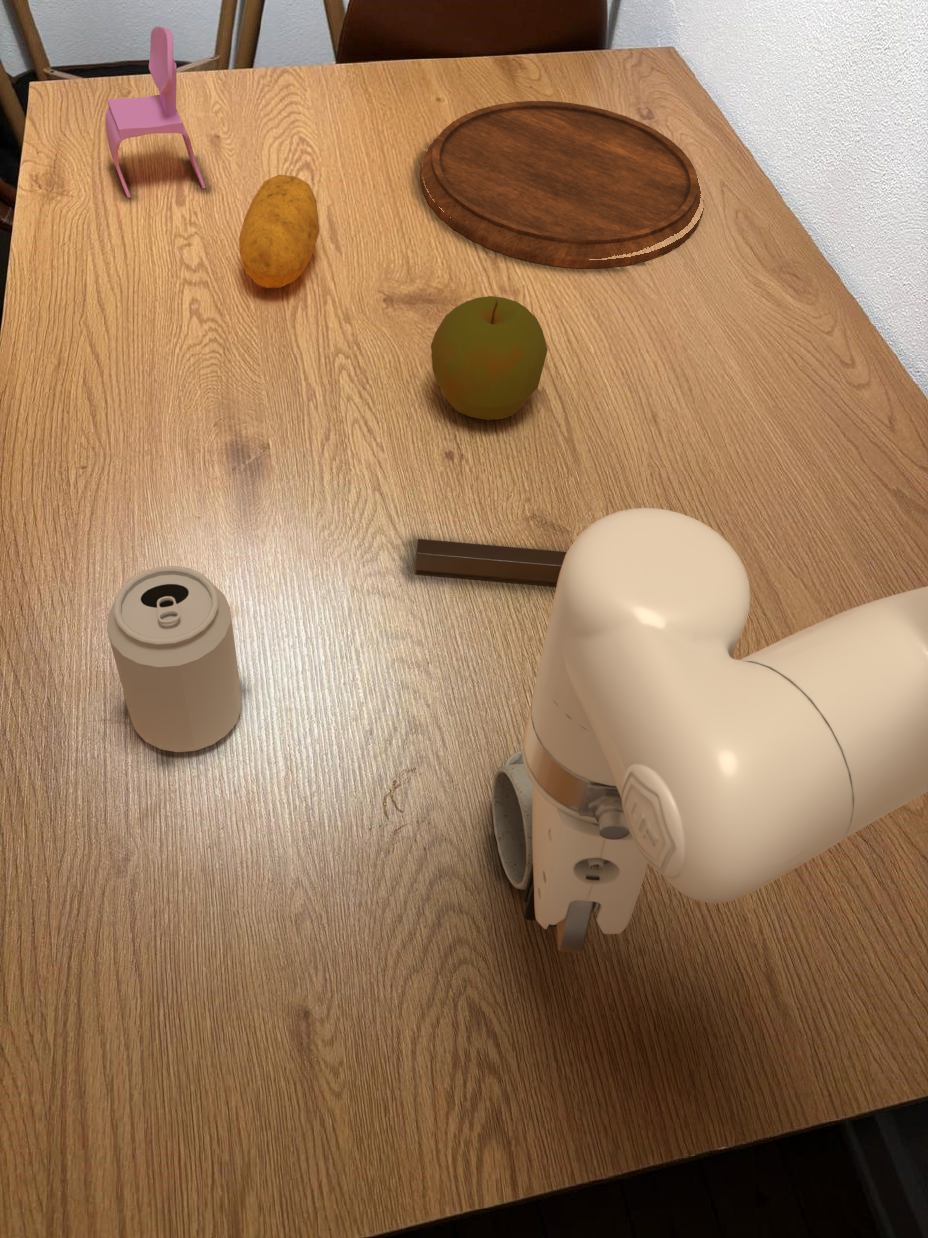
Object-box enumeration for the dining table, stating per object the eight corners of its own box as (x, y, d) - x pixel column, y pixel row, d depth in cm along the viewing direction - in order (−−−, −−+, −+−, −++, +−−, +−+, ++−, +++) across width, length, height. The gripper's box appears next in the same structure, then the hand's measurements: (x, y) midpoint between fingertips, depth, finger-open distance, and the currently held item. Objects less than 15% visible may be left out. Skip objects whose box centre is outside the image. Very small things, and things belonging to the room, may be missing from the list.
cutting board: (624, 305, 111) (629, 283, 109) (363, 196, 120) (363, 173, 118) (746, 177, 130) (752, 156, 128) (511, 91, 139) (514, 70, 137)
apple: (521, 364, 104) (537, 261, 96) (551, 433, 98) (570, 329, 90) (417, 374, 102) (423, 269, 93) (441, 444, 96) (450, 339, 88)
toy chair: (110, 163, 120) (84, 18, 109) (191, 154, 123) (174, 11, 111) (124, 203, 116) (99, 56, 104) (208, 193, 118) (193, 48, 107)
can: (232, 660, 80) (217, 546, 70) (252, 745, 75) (239, 635, 66) (125, 681, 78) (95, 567, 68) (139, 770, 73) (109, 660, 64)
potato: (330, 230, 116) (329, 166, 110) (304, 311, 106) (301, 245, 101) (261, 221, 116) (257, 157, 110) (229, 302, 106) (223, 235, 101)
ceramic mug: (637, 886, 71) (663, 825, 65) (515, 912, 69) (530, 851, 63) (585, 750, 77) (604, 684, 71) (472, 770, 76) (482, 703, 70)
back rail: (669, 596, 87) (676, 576, 85) (414, 574, 86) (416, 553, 84) (666, 566, 89) (673, 546, 87) (417, 544, 88) (419, 523, 86)
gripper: (703, 892, 47) (621, 1040, 61) (671, 620, 56) (606, 802, 71) (527, 881, 47) (485, 1032, 61) (524, 609, 56) (489, 795, 70)
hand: (550, 908), depth 66 cm, fingers closed
